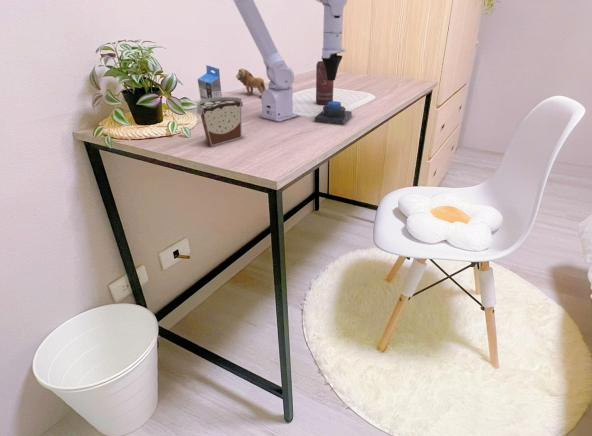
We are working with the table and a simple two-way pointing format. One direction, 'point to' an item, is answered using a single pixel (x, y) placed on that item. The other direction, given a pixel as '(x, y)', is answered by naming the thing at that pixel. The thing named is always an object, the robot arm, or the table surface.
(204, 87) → the tape cartridge
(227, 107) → the food container
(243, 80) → the lion figurine
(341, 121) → the button base
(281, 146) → the table surface
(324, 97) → the can
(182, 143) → the table surface
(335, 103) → the blue button cap
